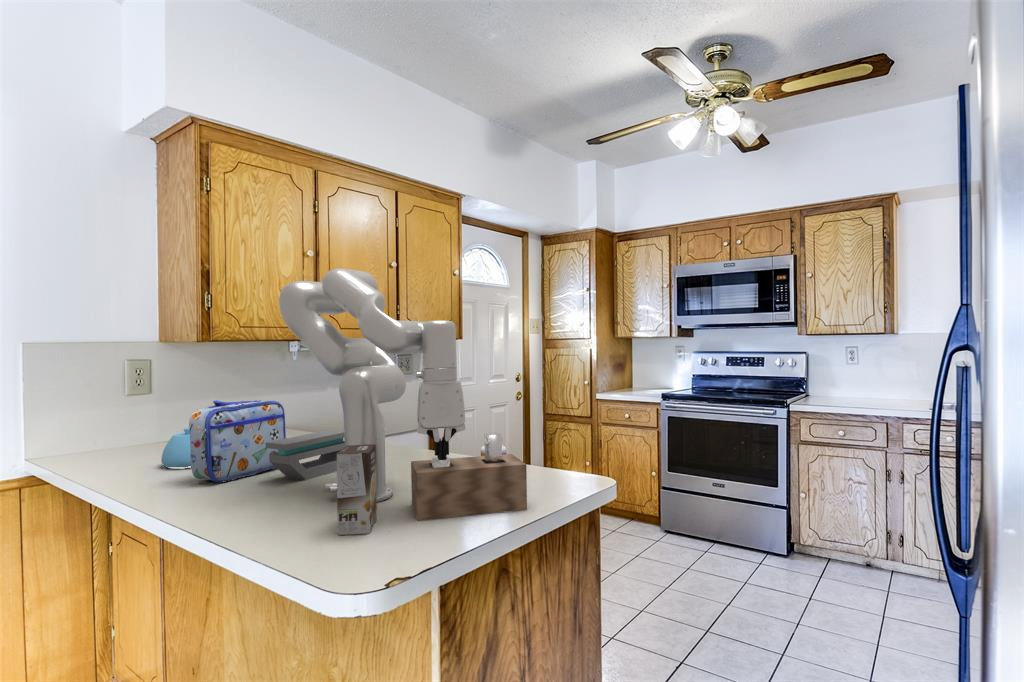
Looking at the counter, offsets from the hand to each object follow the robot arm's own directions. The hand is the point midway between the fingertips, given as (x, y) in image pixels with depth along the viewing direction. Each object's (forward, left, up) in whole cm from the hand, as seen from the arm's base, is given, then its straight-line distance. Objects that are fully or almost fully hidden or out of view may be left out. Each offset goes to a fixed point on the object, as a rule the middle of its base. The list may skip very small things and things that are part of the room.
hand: (442, 458), depth 125 cm
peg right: (+12, 0, -4) cm, 13 cm away
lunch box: (-50, +51, -12) cm, 73 cm away
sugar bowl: (-68, +72, -12) cm, 100 cm away
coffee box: (-18, -6, -12) cm, 22 cm away
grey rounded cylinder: (0, 0, -9) cm, 9 cm away
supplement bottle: (+16, +16, -12) cm, 25 cm away
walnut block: (+6, 0, -12) cm, 13 cm away
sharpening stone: (-30, +46, -12) cm, 56 cm away
